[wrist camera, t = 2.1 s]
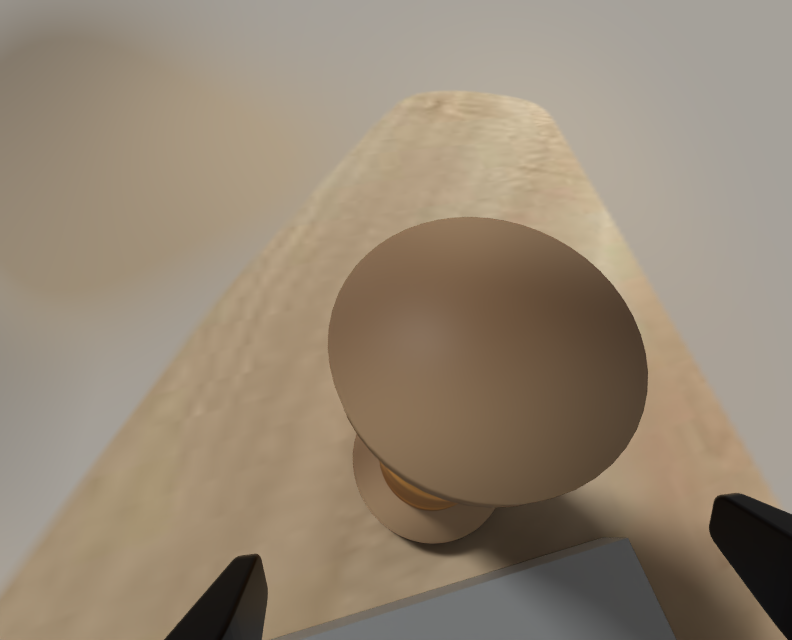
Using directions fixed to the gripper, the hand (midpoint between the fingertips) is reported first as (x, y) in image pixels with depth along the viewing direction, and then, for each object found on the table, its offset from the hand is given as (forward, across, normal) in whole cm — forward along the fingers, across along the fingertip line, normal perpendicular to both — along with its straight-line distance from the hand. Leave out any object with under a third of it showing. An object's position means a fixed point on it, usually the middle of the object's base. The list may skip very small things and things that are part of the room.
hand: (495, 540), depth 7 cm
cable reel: (+10, 0, +5) cm, 11 cm away
